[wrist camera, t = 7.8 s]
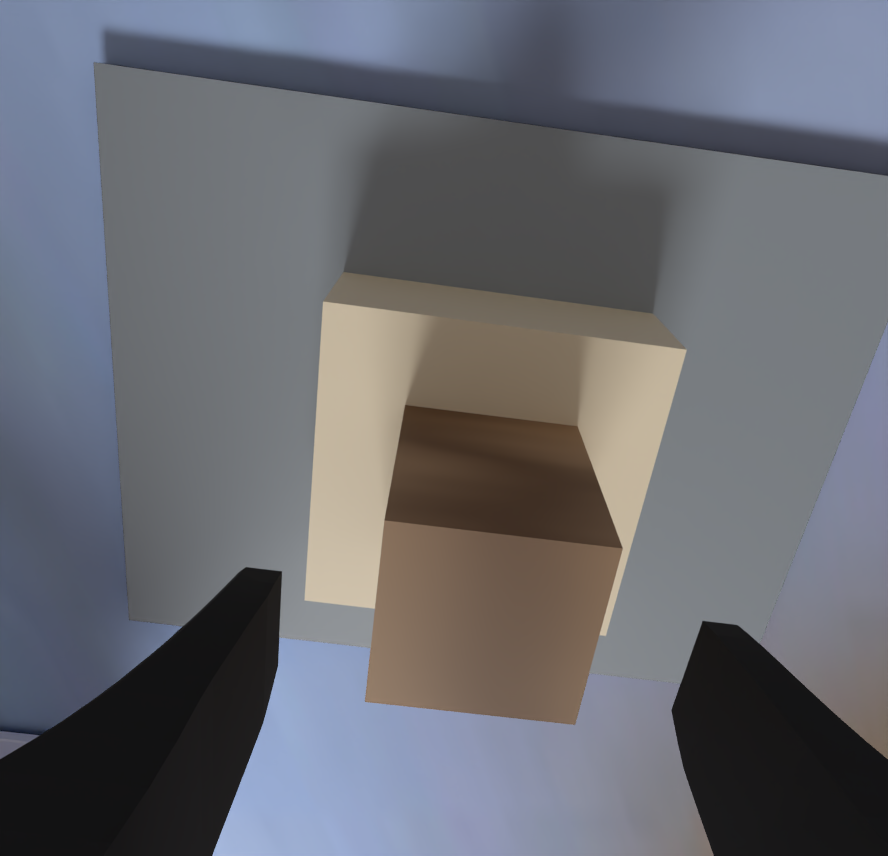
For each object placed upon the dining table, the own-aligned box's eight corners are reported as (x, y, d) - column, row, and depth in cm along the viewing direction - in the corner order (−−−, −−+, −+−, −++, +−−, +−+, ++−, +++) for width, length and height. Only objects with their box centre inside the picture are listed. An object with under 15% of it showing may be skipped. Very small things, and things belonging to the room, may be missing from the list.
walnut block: (388, 550, 18) (365, 701, 13) (405, 405, 16) (384, 520, 12) (545, 569, 18) (574, 724, 14) (577, 426, 16) (622, 548, 12)
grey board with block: (136, 608, 23) (84, 690, 20) (105, 63, 17) (19, 53, 14) (734, 677, 24) (778, 767, 21) (927, 181, 18) (1035, 198, 14)
